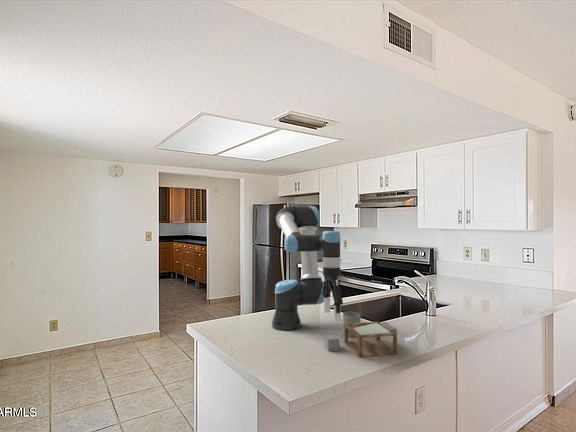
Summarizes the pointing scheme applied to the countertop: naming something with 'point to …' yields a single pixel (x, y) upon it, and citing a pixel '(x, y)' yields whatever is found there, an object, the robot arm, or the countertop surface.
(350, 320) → the cup
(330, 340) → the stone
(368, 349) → the frame
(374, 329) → the trapdoor
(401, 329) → the countertop surface
